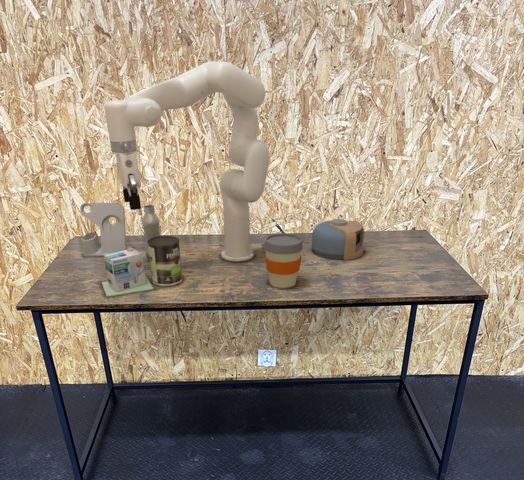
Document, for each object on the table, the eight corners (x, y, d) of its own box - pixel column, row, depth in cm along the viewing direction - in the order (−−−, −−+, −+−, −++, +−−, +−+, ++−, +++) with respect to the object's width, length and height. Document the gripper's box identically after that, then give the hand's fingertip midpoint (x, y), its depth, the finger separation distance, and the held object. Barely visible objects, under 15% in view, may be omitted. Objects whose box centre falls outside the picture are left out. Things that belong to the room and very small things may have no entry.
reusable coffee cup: (261, 289, 163) (261, 244, 155) (266, 274, 174) (266, 232, 166) (299, 291, 162) (301, 246, 154) (302, 276, 172) (304, 234, 165)
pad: (146, 276, 172) (146, 275, 171) (153, 289, 162) (153, 288, 162) (101, 283, 167) (101, 282, 166) (106, 297, 157) (106, 295, 157)
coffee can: (188, 278, 170) (185, 238, 163) (168, 288, 163) (164, 247, 156) (165, 272, 175) (161, 233, 168) (145, 282, 168) (140, 241, 160)
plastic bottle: (147, 264, 182) (140, 209, 172) (145, 257, 188) (139, 204, 178) (164, 262, 184) (159, 208, 173) (162, 256, 189) (157, 203, 179)
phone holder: (81, 256, 189) (72, 209, 180) (89, 247, 197) (80, 202, 188) (127, 256, 189) (120, 209, 180) (132, 247, 198) (126, 201, 189)
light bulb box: (116, 292, 159) (111, 260, 154) (107, 286, 164) (102, 254, 158) (146, 284, 165) (142, 253, 159) (137, 278, 169) (133, 247, 164)
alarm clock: (354, 263, 183) (357, 231, 177) (304, 254, 191) (305, 224, 185) (368, 247, 198) (371, 217, 192) (321, 240, 206) (323, 211, 200)
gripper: (142, 150, 140) (150, 210, 149) (131, 141, 154) (139, 197, 163) (115, 152, 138) (125, 214, 147) (106, 143, 152) (116, 200, 160)
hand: (132, 205), depth 155 cm, fingers open, 9 cm apart
